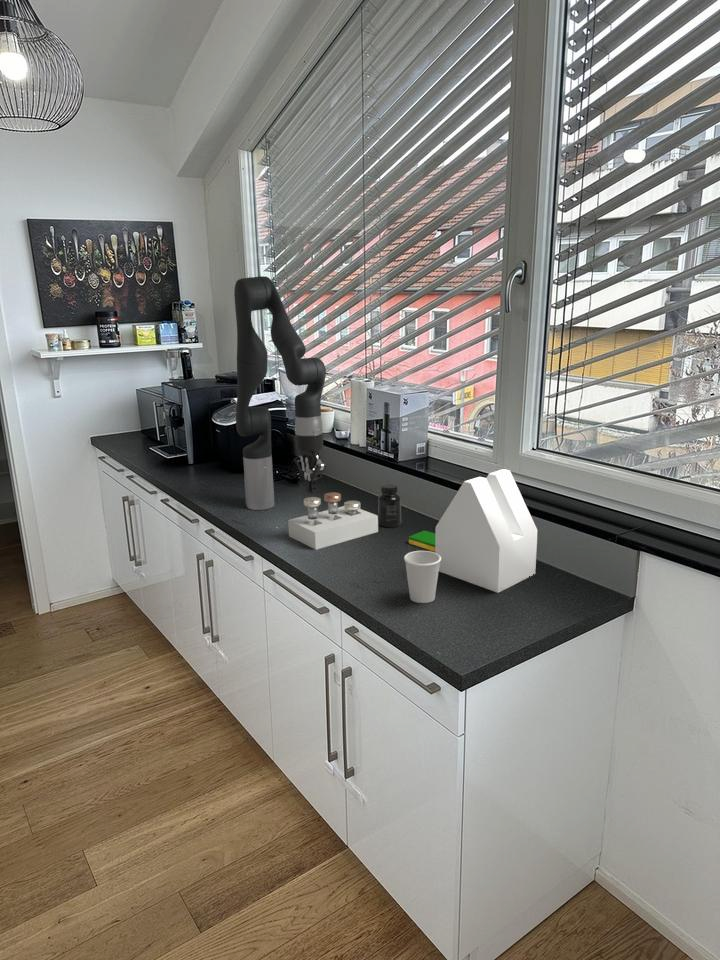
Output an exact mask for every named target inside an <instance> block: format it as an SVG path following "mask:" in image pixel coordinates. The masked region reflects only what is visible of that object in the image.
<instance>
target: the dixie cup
mask: <svg viewBox="0 0 720 960" xmlns="http://www.w3.org/2000/svg"><path fill="white" fill-rule="evenodd" d="M403 559H404V563H405V570H406V577H407V584H408V585H407V586H408V592H409V598H410V601H412V602H415V603H417V604H427V603H432V602H433V601H434V600H435V598H436V593H437V584H438V579H439V573H440V571H439V565H440V561H441V557H440V556H439V555H438V554H437V553H435V552H434V551H431V550H416V551H409V552H408V553H406V554H405V555H404V557H403Z"/></svg>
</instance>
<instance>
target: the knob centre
mask: <svg viewBox="0 0 720 960" xmlns="http://www.w3.org/2000/svg"><path fill="white" fill-rule="evenodd" d="M323 500H324V501H325V502H327V510H328V514H337V513H338V507H339V504H338V502H341V500H342V494H341V493H339V492H333V491H332V492H326V493H324V494H323Z"/></svg>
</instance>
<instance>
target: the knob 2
mask: <svg viewBox="0 0 720 960" xmlns="http://www.w3.org/2000/svg"><path fill="white" fill-rule="evenodd" d="M343 506H344V509H346V510H348V515H350V516H353V515H356V514H357V510H358V509H362V508H361V502H360V500H347V501H344V504H343Z"/></svg>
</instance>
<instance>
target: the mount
mask: <svg viewBox="0 0 720 960" xmlns="http://www.w3.org/2000/svg"><path fill="white" fill-rule="evenodd" d="M287 521H288V537H289V538H291V539H294V540H296V541H297V542H300V543H301V544H304V545H305V546H308V547H309V548H311V549H314V550H320V549H324V548H327V547H330V546H334V545H337V544H340V543H344V542H348V541H350V540H355V539H358V538H361V537H365V536H369V535H372V534H375V533H379V515H377V514H375V513H372V512H369V511H367V510H364V509H362V508H360V509H358V510H357V514H356V515H353V516H350V515H348V510H346V509H344V505H343V506H338V513H337V514H328V509H326V510H323V511H318V518H317V519H314V520H310V519H308V514H306V515H302V516H299V517H293V518H291V519H288V520H287Z"/></svg>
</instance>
